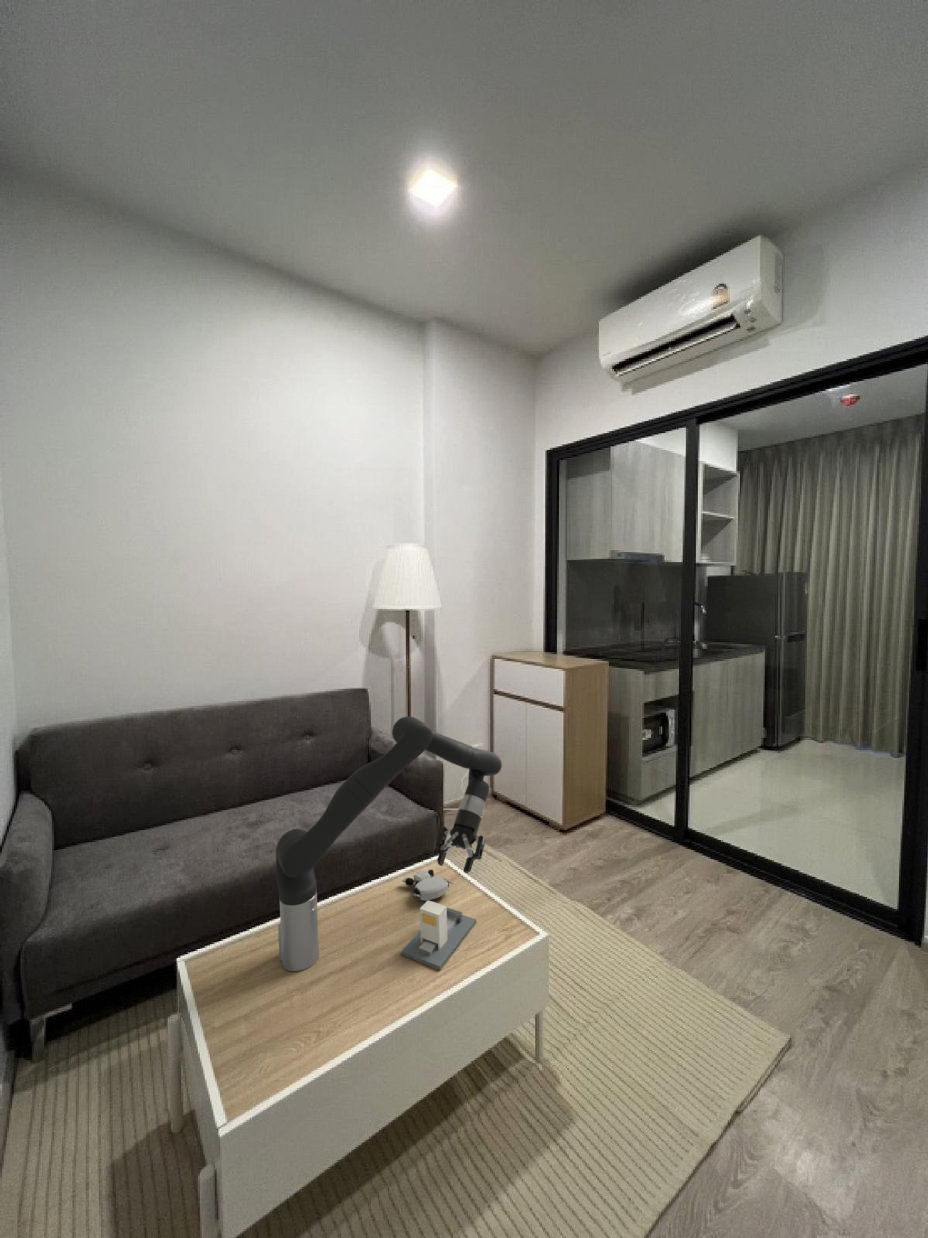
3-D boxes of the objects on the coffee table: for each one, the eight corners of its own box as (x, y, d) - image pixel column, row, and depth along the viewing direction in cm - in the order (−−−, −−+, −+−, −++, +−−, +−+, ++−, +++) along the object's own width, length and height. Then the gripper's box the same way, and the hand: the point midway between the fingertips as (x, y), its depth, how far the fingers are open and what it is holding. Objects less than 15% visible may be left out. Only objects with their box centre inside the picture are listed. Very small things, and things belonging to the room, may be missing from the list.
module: (420, 942, 130) (419, 908, 130) (428, 933, 134) (427, 900, 134) (439, 950, 127) (438, 915, 127) (447, 940, 131) (446, 906, 131)
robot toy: (400, 888, 158) (420, 910, 145) (399, 875, 158) (419, 894, 146) (433, 876, 165) (455, 896, 152) (432, 863, 165) (454, 881, 152)
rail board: (401, 954, 127) (401, 951, 127) (440, 910, 145) (440, 907, 145) (440, 970, 122) (440, 966, 122) (476, 922, 139) (476, 919, 139)
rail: (416, 950, 127) (416, 941, 127) (447, 914, 142) (446, 906, 141) (433, 956, 125) (432, 947, 125) (462, 920, 139) (462, 912, 139)
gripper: (445, 804, 150) (426, 858, 140) (487, 813, 143) (470, 870, 133) (454, 814, 155) (436, 867, 145) (494, 823, 148) (479, 879, 138)
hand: (452, 868), depth 139 cm, fingers open, 8 cm apart
